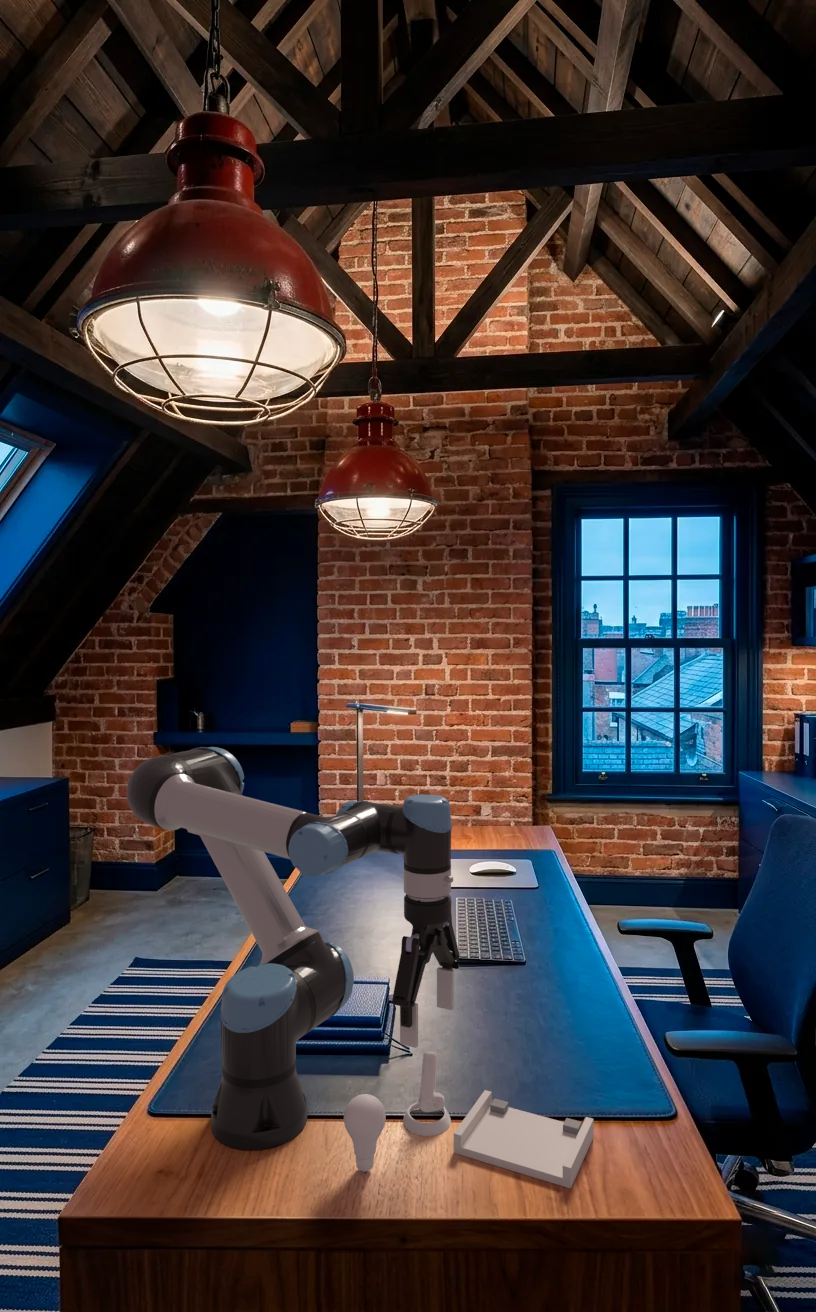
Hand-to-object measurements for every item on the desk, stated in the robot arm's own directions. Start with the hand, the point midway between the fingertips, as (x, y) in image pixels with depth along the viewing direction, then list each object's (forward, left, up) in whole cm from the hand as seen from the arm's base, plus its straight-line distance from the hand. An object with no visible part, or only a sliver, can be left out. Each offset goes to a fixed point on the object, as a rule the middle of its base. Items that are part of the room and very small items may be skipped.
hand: (428, 1025), depth 134 cm
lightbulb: (-3, -15, -16) cm, 22 cm away
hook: (0, 0, -16) cm, 16 cm away
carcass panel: (+16, +1, -16) cm, 22 cm away
